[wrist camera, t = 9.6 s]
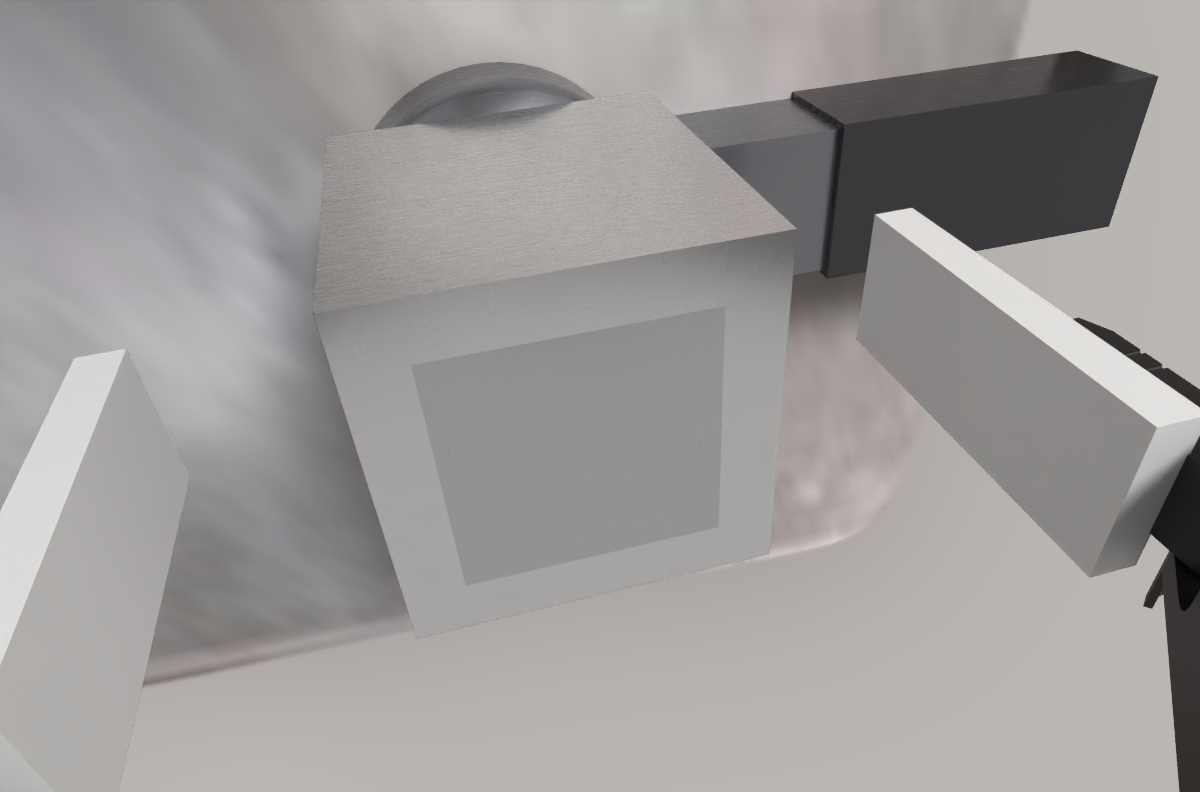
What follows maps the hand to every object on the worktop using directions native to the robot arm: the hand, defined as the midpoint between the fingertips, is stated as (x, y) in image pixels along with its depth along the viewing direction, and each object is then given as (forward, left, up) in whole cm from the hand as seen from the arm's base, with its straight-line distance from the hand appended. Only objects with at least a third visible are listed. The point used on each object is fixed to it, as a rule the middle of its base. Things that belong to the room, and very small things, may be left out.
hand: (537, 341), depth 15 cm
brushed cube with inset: (0, 0, -4) cm, 4 cm away
